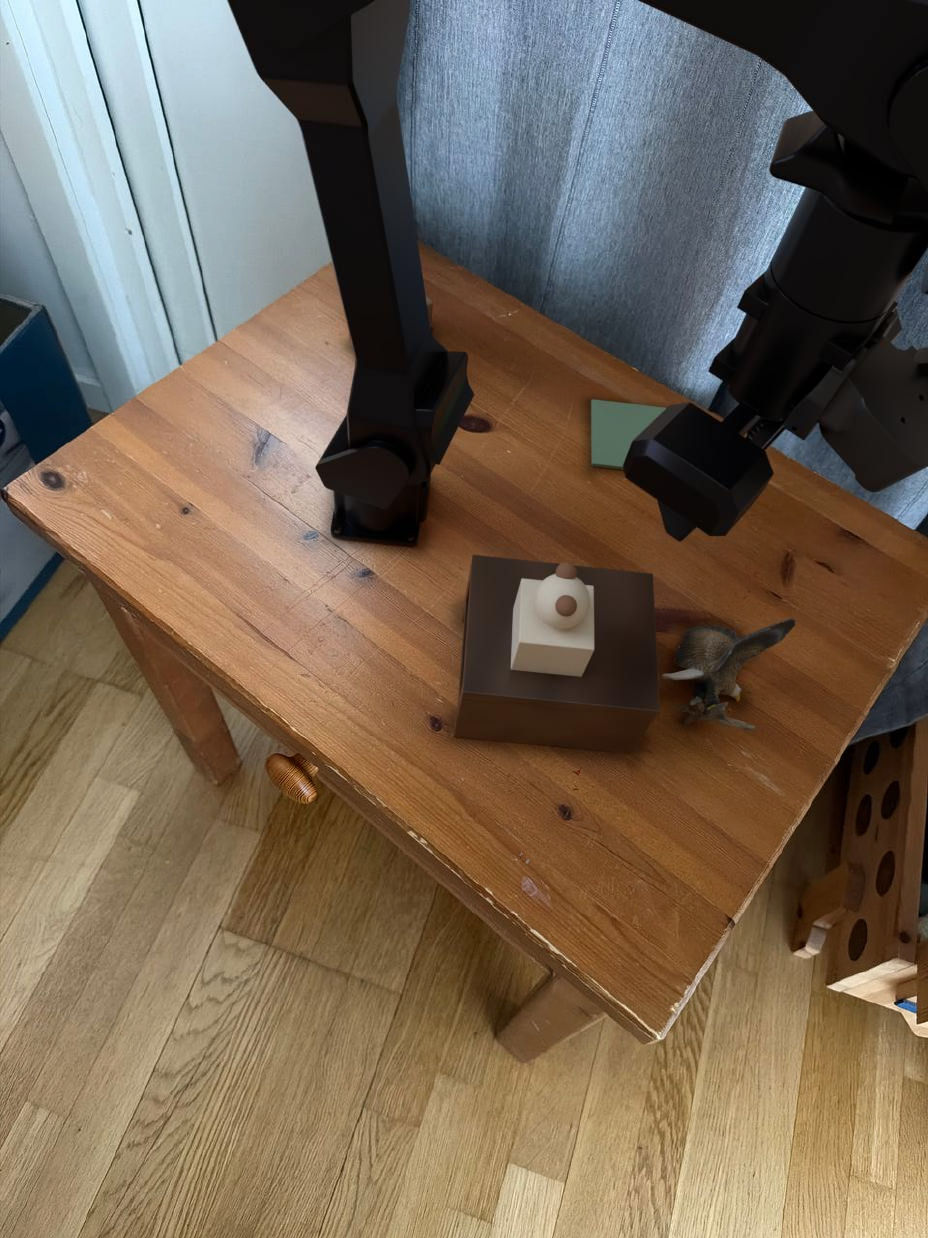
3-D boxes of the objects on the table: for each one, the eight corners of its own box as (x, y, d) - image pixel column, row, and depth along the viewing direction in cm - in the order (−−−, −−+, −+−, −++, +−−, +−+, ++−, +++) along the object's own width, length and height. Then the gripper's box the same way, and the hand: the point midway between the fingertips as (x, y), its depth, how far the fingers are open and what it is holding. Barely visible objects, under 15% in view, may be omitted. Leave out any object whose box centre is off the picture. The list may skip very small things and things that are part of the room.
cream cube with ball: (510, 670, 55) (528, 613, 49) (513, 608, 57) (530, 546, 51) (581, 677, 55) (607, 621, 49) (581, 615, 57) (606, 554, 51)
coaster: (591, 466, 72) (592, 463, 72) (590, 402, 76) (591, 398, 75) (676, 475, 73) (677, 472, 72) (671, 411, 76) (673, 408, 76)
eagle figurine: (769, 757, 60) (811, 641, 63) (741, 709, 55) (788, 586, 57) (665, 730, 64) (708, 624, 67) (631, 684, 59) (679, 572, 62)
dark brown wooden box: (453, 737, 60) (462, 692, 54) (462, 608, 65) (472, 554, 59) (630, 754, 60) (660, 711, 54) (626, 625, 65) (653, 573, 59)
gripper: (899, 496, 35) (749, 674, 48) (1069, 272, 43) (900, 478, 56) (664, 346, 38) (584, 553, 51) (865, 163, 46) (750, 384, 59)
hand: (715, 491), depth 54 cm, fingers open, 9 cm apart
